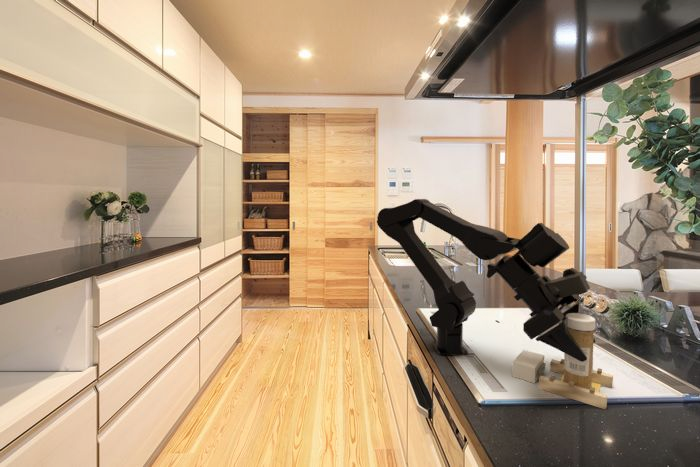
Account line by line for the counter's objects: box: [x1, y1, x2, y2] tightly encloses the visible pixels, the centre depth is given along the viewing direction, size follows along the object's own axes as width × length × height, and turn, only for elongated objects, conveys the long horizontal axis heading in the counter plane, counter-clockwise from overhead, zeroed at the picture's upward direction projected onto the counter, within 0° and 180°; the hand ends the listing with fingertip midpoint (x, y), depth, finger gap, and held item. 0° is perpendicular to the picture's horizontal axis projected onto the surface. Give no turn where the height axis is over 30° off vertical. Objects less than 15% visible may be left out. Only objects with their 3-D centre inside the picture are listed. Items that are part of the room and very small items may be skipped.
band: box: [559, 374, 602, 393], centre depth 64 cm, size 6×7×1 cm
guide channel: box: [538, 358, 614, 410], centre depth 64 cm, size 10×10×3 cm
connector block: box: [511, 349, 546, 384], centre depth 69 cm, size 4×7×3 cm, turn 138°
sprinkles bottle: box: [563, 312, 596, 390], centre depth 63 cm, size 5×5×14 cm
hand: (589, 351), depth 62 cm, fingers open, 9 cm apart
